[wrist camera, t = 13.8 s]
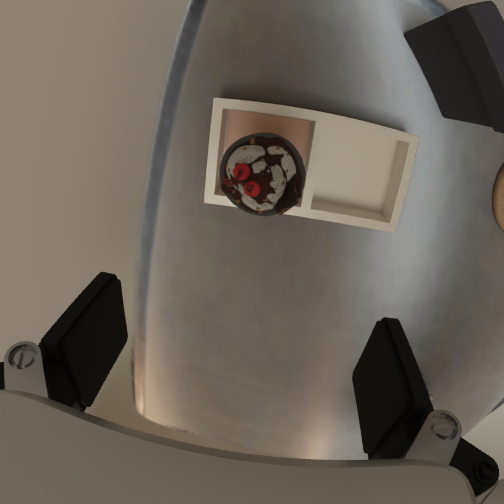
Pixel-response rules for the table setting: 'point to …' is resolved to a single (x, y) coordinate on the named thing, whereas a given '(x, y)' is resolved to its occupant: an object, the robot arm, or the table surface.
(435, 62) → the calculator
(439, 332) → the table surface
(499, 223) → the candle holder
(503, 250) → the table surface
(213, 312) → the table surface
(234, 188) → the sundae
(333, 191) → the carrier tray
